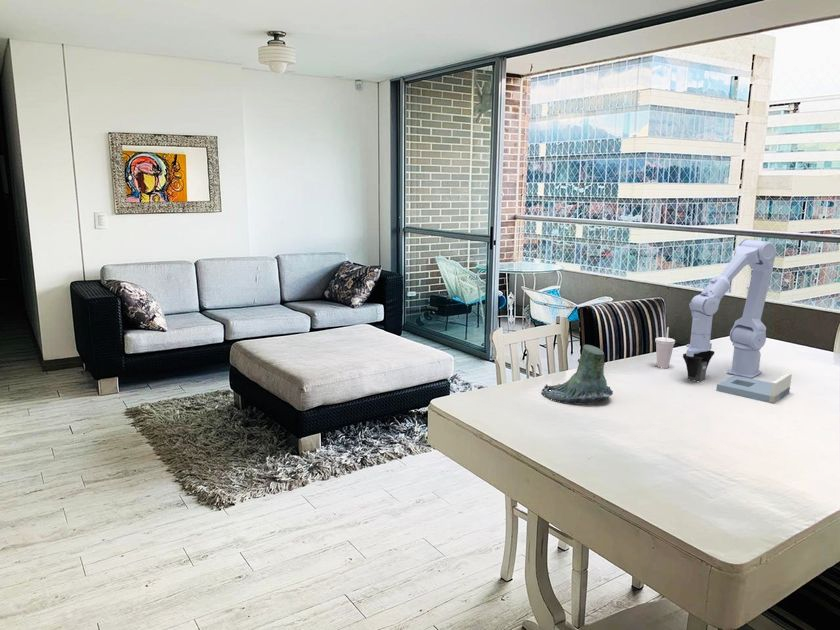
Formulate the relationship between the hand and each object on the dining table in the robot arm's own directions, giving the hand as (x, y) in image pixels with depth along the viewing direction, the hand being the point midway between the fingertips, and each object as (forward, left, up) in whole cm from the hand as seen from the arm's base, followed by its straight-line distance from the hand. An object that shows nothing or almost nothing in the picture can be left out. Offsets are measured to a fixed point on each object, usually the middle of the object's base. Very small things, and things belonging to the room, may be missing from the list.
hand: (696, 374), depth 205 cm
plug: (0, 0, -2) cm, 2 cm away
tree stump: (+42, -17, -2) cm, 46 cm away
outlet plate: (0, +17, -2) cm, 17 cm away
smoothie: (-6, -14, -2) cm, 15 cm away
